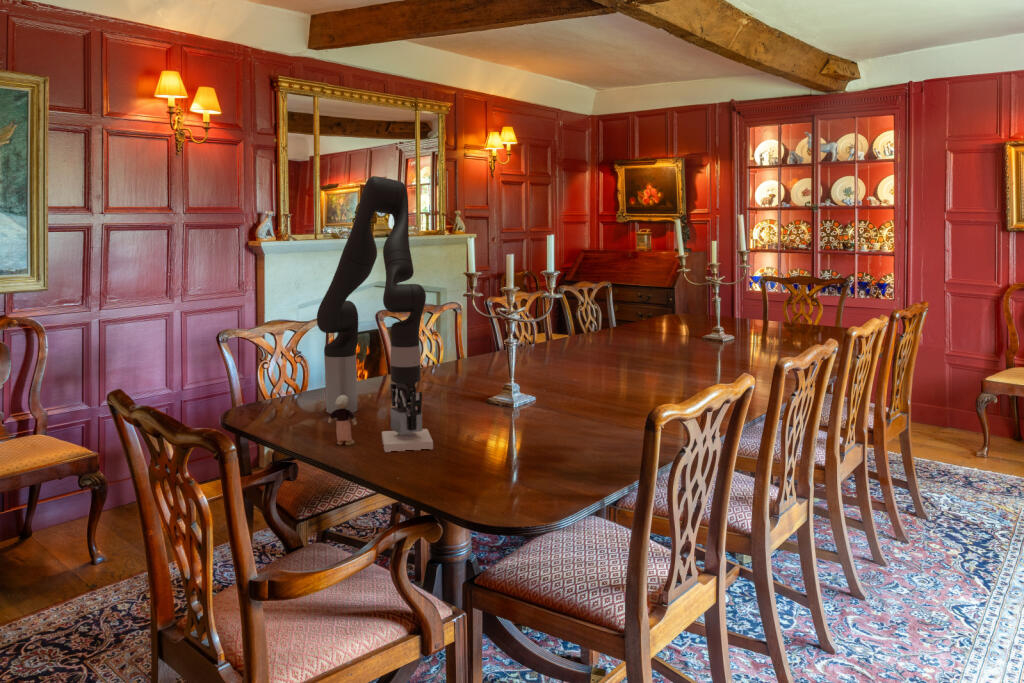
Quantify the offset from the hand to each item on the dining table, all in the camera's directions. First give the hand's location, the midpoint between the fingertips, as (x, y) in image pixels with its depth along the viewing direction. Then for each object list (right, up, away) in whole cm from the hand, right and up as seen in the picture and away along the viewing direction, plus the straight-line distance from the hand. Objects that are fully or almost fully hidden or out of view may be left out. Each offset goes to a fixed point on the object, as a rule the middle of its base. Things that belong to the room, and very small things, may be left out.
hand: (406, 426), depth 194 cm
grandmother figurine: (-16, -5, +1) cm, 17 cm away
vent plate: (0, -5, +1) cm, 5 cm away
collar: (0, -1, 0) cm, 1 cm away
